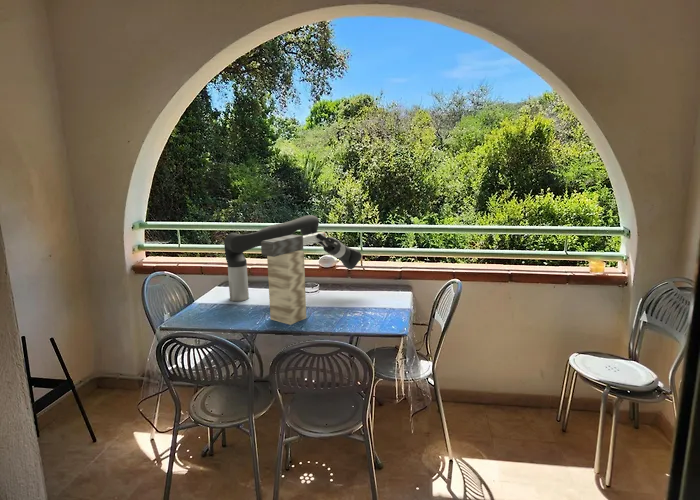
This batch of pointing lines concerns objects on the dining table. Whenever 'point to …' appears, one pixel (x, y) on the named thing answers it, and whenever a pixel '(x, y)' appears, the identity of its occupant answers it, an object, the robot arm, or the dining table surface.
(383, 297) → the dining table surface
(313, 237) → the light grey bar
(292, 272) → the stand
